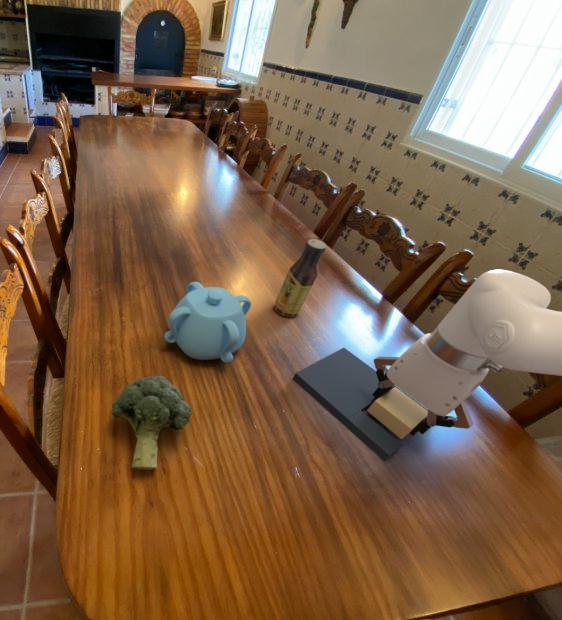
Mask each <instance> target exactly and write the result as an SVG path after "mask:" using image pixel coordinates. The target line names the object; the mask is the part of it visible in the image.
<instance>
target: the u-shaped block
mask: <svg viewBox="0 0 562 620" xmlns="http://www.w3.org/2000/svg"><path fill="white" fill-rule="evenodd" d="M376 371H377V370H375V369H374V368H372V367H371V366H370V365H369V364H367V363H365V362H364V361H363V360H362V359H360V358H359V357H358V356H357V355H355V354H353V352H351V351H350V350H348V349H347V348H346V347H342V348H340V349H338V350H336V351H335V352H334V351H333V352H332V353H331V354H329V355H327V356H325V357H323V358H320V360H317V361H315V362H314V363H312V364H310V365H308V366H306V367H304V368H302V369H300V370H299V371H296V372H295V373H294V375H293V376H292V379H293V380H294V381H295V382H296V383H297V384H298V385H299V386H300V387H301V388H302V389H303V390H305V391H306V392H307V393H308V394H309V395H310V396H311V397H313V398H314V400H316V401H317V402H318V403H319V404H320V405H321V406H322V407H324V409H326V410H327V411H328V412H329V413H330V414H332V415H333V417H335V418H336V419H337V420H338V421H339V422H340V423H341V424H342V425H344V426H345V427H346V428H347V429H348V430H350V432H352V433H353V434H354V435H355V436H356V437H357V438H358V439H359V440H360V441H362V442H363V443H364V444H365V445H366V446H367V447H368V448H370V449H371V450H372V452H374V454H376V455H377V456H378V457H379V458H381V459H382V460H383V461H384V462H385V461H387V460H388V459H389V458H390V457H392V456H393V455H394V454H396V453H397V452H398V451H399V450H400V449H401V448H402V447H403V446H404V445H403V444H402V443H401V442H400V441H398V440H397V439H396V438H395V437H394V436H393V435H392V434H390V433H389V432H387V430H385V429H384V428H383V427H382V426H381V425H379V424H378V423H377V422H376V421H375V420H373V419H372V418H371V417H370V416H368V414H366V413H365V412H364V411H365V410H368V409H369V407H370V406H371V405H372V403H371V401H372V400H373V399H374V396H373V395H372V394H373V393H374V392H375V391H376V389H377V388H378V387H379V386H378V383H379V381H378V377H377V374H376ZM395 387H396V388H397V389H399V390H400V391H401V392H403V393H404V394H405V395H407V396H408V397H409V398H411V399H412V400H413V401H415V402H416V403H418V404H419V405H420V406H422V407H423V408H424V409H426V410H427V411H428V409H427V408H426V407H424V406H423V405H422V404H420V403H419V402H417V401H416V400H415V399H413V398H412V397H411V396H409V395H408V394H407V393H405V392H404V391H403V390H401V389H400V388H399V387H397V386H396V385H394V386H393V388H395ZM393 388H392V389H393ZM392 389H391V390H392Z"/></svg>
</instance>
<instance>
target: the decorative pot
mask: <svg viewBox="0 0 562 620" xmlns="http://www.w3.org/2000/svg"><path fill="white" fill-rule="evenodd" d="M241 303H243V304H241ZM251 307H252V302H251V300H250V298H249V297H248V296H246V295H243V294H239V295H235V296H234V295H233V294H232V293H231V292H230V291H228V290H227V289H226V288H223V287H220V286H210V287H209V286H207V287H206V286H205V287H204V286H203V285H202V284H201V282H199V281H192V282H189V283H188V284H187V287H186V295H184V296H183V297H182V299H181V300H179V302H178V303H177V304H176V306H175V307H174V309H173V310H172V311H171V312H170V314H169V316H168V327H169V330H168V331H166V332H165V333H164V336H163V337H164V340H165V342H166V343H169V344H173V343H176V345H177V346H178V347H179V349H181V351H182V352H183V353H184V354H185V355H186V356H187V357H189V358H191V359H194V360H198V361H200V360H201V361H210V360H212V361H213V360H219V359H220V360H221V361H222V362H223V363H225V364H230V363H232V361H233V360H234V356H233V353H235V352H236V351H238V350H239V349H240V348H241V347H242V346H243V345H244V343H245V340H246V335H247V334H246V333H247V318H246V315H247V314H248V313H249V311H250V309H251Z"/></svg>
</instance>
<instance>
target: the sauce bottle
mask: <svg viewBox="0 0 562 620" xmlns="http://www.w3.org/2000/svg"><path fill="white" fill-rule="evenodd" d="M326 250H327V244H326V243H325V242H323V241H321V240H320V239H315V238H312V239H311V238H310V239H309V240H307V241H306V244H305V245H304V249H303V252H302V254H301V255H300V257H299V258H298V259H297V260H296V261H295V262H294V263H293V264H292V265H291V266H290V267H289V269H288V271H287V273H286V276H285V277H284V278H285V279H284V280H283V283H282V285H281V287H280V290H279V292H278V294H277V297H276V299H275V301H274V307H273V308H274V310H275V311H276V313H277V314H278V315H280V316H282V317H285V318H294V317H297V316H298V314H299V313H300V312H301V310H302V308H303V306H304V304H305V302H306V301H307V298H308V296H309V295H310V292H311V290H312V288H313V286H314V285H315V281H316V280H317V278H318V276H319V265H318V264H319V262H320V259H321V258H322V255H323V253H325V251H326Z"/></svg>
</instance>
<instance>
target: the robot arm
mask: <svg viewBox="0 0 562 620" xmlns="http://www.w3.org/2000/svg"><path fill="white" fill-rule="evenodd" d="M551 301H552V296H551V292H550V290H549V289H547V287H545V286H544V285H543V284H542V283H540V282H539V281H537V280H535V279H533V278H531V277H529V276H527V275H524V274H521V273H518V272H515V271H511V270H506V269H493V270H492V269H491V270H488V271H486V272H483V273H482V274H480V275H479V276H478V277H476V279H475V280H474V281H473V283H471V285H470V286H469V287H468V288H467V290H466V291H465V292H464V293H463V295H462V296H461V297H460V298H459V300H457V302H456V303H455V304H454V306H453V307H452V308H451V309H450V310H449V311H448V313H447V314H446V315H445V316H444V317H443V319H441V321H440V323H439V324H438V325H437V326H436V327H435V328H434V329H433V331H432V332H431V333H429V332H428V333H425V334H424V335H422V336H421V337H420V338H419V339H417V340H416V341H415V342H413V344H411V345H410V346H409V347H408V348H407V349H406V350H405V351H404V352H402V354H401V355H400V356H381V355H380V356H377V357H374V358H373V363H374V368H375V369H376V370H375V371H376V374H377V377H378V381H379V383H378V386H379V387H378V388H377V389H376V391H375V392H374V393H373V394H372V395H373V396H374V399H373V400H372V401H371V403H372V404H373V403H374V401H375V400H377V399H378V398H380V397H382V396H383V395H385V394H386V393H387V392H389V391H390V390H391V389H392V388H393V386H394V385H395V386H397V387H398V388H399V389H401V390H402V391H404V392H405V393H406V394H408V395H409V396H410V397H412V398H413V399H414V400H416V401H417V402H418V403H420V404H421V405H422V406H424V407H425V408H427V409H428V414H427V417H425V418H424V419H423V420H422V421H421V422H420V423H419V424H417V426H416V427H415V428H414V429H413V430H412V431H411V432H410V433H409V435H411V436H412V437H414V436H415V435H417V434H418V433H419V434H421V435H424V434H425V433H427V432H428V431H429V430H430V429H431V428H433V427H435V426H437V427H443V428H448V429H449V428H455V429H456V428H457V429H465V430H467V429H470V428H471V427H472V426H473V425H474V422H473V419H472V416H471V413H470V411H469V408H468V406H467V403H466V401H467V399H469V397H470V396H471V395H472V394H473V393H474V392H475V391H476V390H477V389H478V387H479V386H480V385H481V384H482V383H483V381H484V380H485V378H486V377H487V375H488V373H489V370H492V371H493V372H495V373H498V372H499V371H500V370H502V369H503V368H504V369H508V370H511V371H517V372H525V373H533V374H540V375H549V376H550V375H552V376H559V377H562V311H559V310H554V309H553V310H552V309H549V308H548V306H549V305H550V304H551ZM387 366H389V368H388V367H387ZM453 411H454V413H455V415H456V417H455V416H452V415H449V414H450V413H452V412H453Z"/></svg>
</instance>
